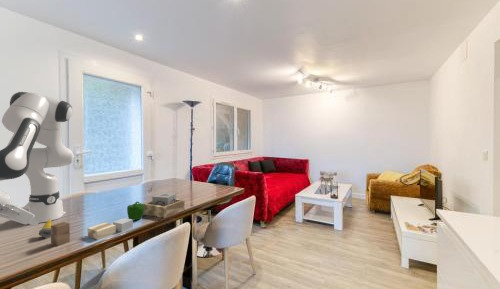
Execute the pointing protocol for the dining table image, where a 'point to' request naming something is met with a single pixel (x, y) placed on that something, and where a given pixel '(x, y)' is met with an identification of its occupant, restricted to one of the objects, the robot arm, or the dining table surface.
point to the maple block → (101, 230)
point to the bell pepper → (135, 211)
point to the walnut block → (60, 233)
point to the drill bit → (46, 230)
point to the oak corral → (163, 208)
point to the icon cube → (164, 199)
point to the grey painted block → (123, 224)
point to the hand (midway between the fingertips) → (29, 222)
